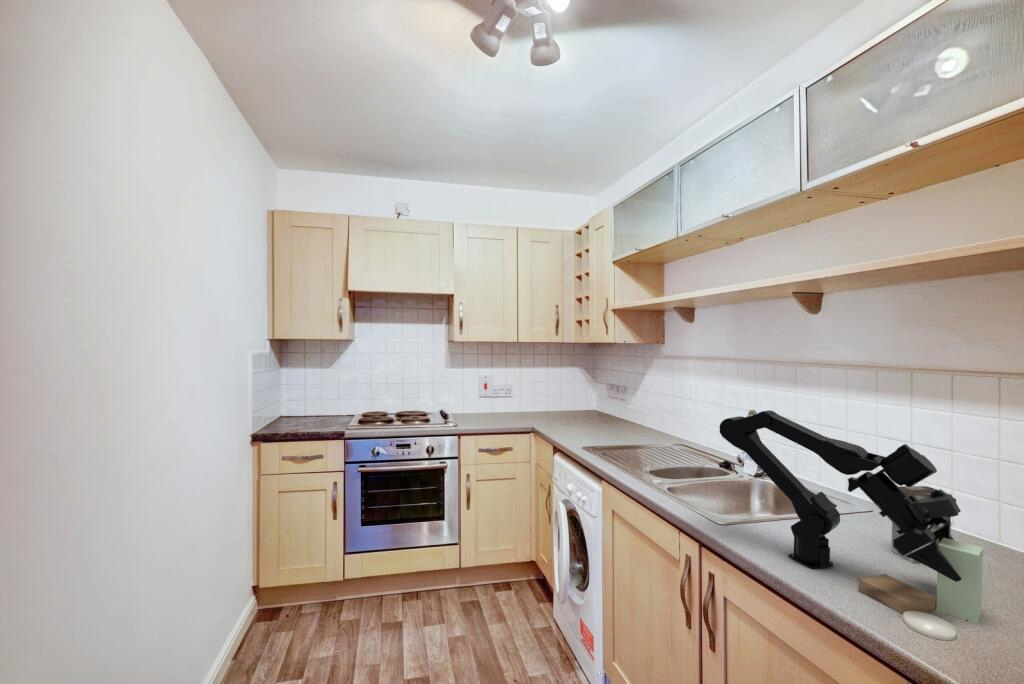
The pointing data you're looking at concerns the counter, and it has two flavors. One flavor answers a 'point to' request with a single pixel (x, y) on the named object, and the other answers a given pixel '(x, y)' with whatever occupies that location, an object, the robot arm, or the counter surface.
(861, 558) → the counter surface
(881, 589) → the podium
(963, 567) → the carton
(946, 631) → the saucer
